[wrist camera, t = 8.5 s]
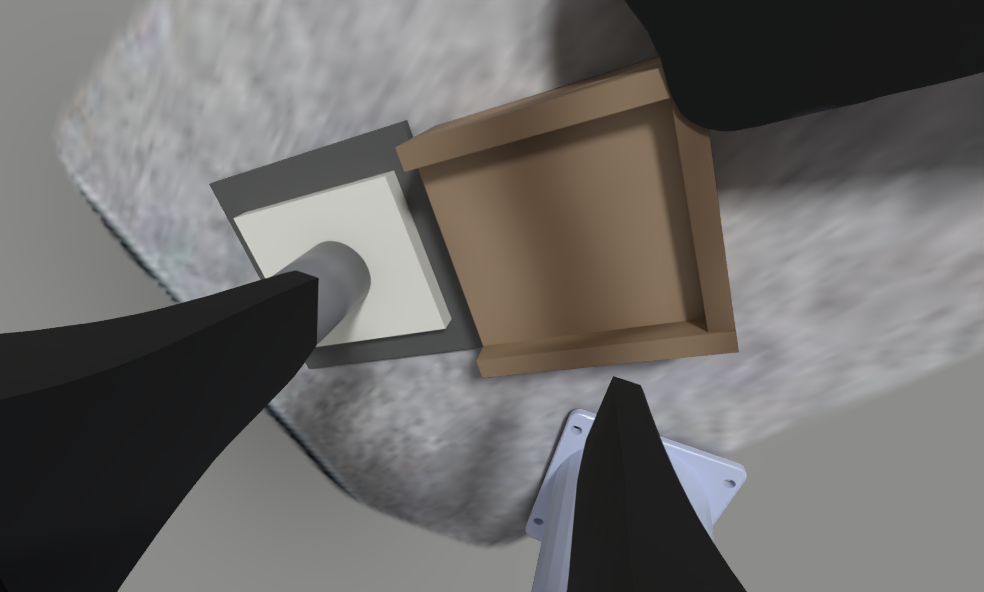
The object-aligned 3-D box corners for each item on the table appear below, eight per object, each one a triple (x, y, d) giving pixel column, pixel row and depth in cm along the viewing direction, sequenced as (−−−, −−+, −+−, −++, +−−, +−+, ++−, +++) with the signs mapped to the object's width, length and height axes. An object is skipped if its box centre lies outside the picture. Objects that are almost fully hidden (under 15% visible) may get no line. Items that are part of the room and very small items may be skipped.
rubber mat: (407, 120, 19) (402, 122, 19) (487, 341, 23) (484, 346, 23) (215, 181, 23) (209, 184, 23) (313, 364, 27) (308, 368, 27)
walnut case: (690, 47, 16) (698, 55, 13) (725, 299, 19) (738, 351, 16) (434, 126, 19) (395, 147, 16) (504, 329, 23) (482, 377, 20)
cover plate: (393, 170, 20) (336, 206, 16) (451, 319, 23) (413, 377, 19) (245, 212, 23) (169, 250, 19) (312, 340, 26) (256, 394, 22)
